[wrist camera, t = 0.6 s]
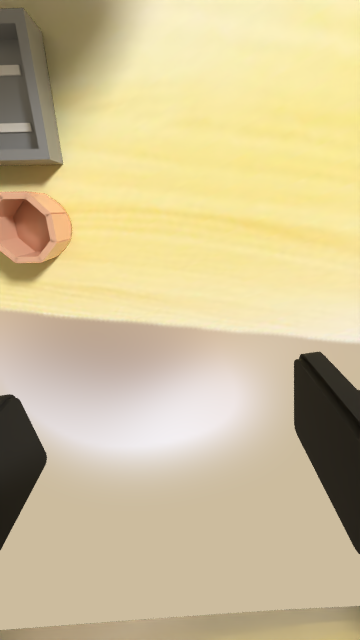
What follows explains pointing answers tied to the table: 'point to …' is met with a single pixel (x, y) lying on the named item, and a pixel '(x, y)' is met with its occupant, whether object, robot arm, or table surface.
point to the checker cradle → (25, 94)
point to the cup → (32, 227)
